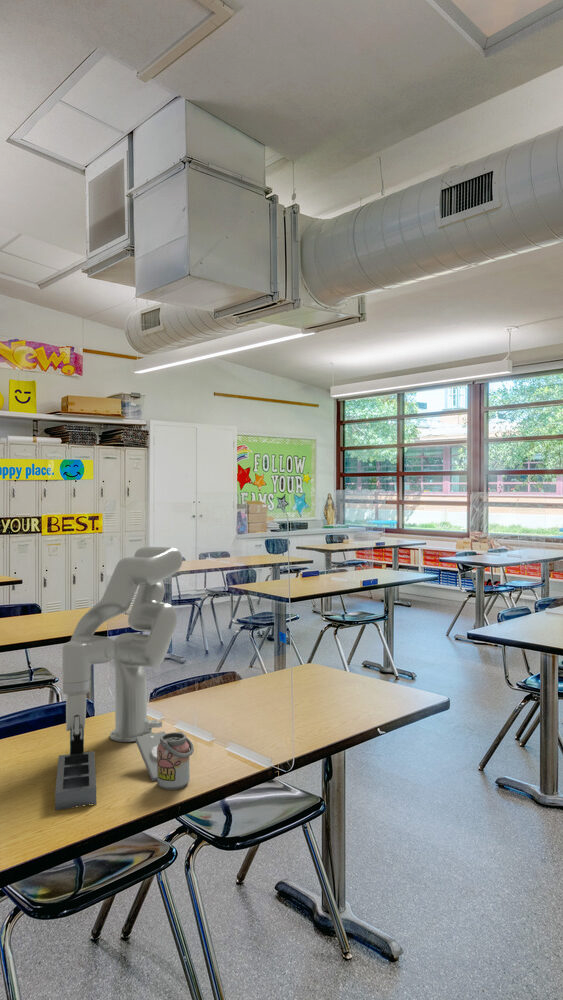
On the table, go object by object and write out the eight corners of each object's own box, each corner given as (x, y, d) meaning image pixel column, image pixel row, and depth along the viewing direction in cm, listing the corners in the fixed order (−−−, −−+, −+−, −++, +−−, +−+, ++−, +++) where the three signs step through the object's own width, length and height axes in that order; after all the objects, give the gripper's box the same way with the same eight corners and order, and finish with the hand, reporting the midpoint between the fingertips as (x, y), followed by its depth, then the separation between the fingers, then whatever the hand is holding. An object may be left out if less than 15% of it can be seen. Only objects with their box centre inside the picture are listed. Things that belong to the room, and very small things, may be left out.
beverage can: (199, 780, 161) (199, 733, 162) (181, 794, 154) (181, 745, 154) (169, 775, 165) (169, 729, 165) (150, 788, 157) (150, 740, 158)
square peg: (83, 757, 177) (83, 725, 177) (83, 762, 174) (83, 730, 174) (70, 759, 176) (70, 727, 176) (69, 764, 173) (70, 731, 173)
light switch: (153, 776, 160) (136, 734, 171) (149, 792, 163) (132, 750, 173) (184, 768, 165) (165, 728, 176) (180, 784, 167) (161, 743, 178)
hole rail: (94, 765, 171) (94, 751, 172) (96, 804, 149) (96, 787, 149) (58, 770, 169) (58, 755, 169) (55, 810, 146) (55, 793, 146)
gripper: (63, 679, 182) (63, 743, 182) (61, 695, 166) (62, 765, 166) (90, 677, 184) (90, 740, 184) (91, 692, 169) (91, 761, 168)
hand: (77, 751), depth 175 cm, fingers closed on square peg, 3 cm apart
